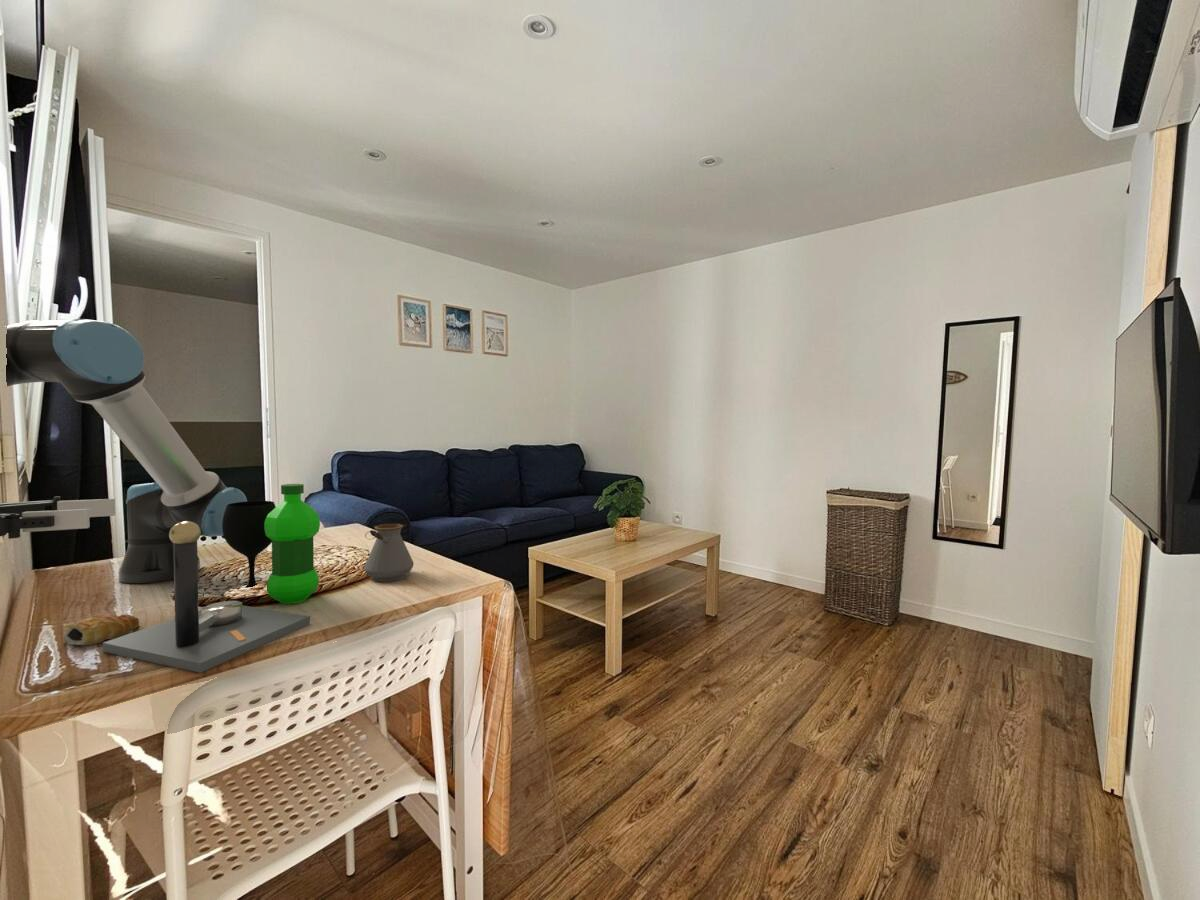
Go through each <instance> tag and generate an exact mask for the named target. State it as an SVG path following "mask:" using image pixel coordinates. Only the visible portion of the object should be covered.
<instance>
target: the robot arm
mask: <svg viewBox="0 0 1200 900" xmlns="http://www.w3.org/2000/svg"><path fill="white" fill-rule="evenodd" d="M6 348H7V354H6V358H7V365H6V382H7V387H10V386H15V385H22V384H30V383H59V384H61V385H62V387H63V388H65V389H64V390H66V391H67V393H68V394H69V395H70V396H71V397H72V398H73V399H74V400H75V401H76V402H78V403H83V404H88V405H91V406H92V407H93V408H94V409H95V411H96V412H97V413H98V414H99V415H100V417H101V418H102V419H103V420H104V422H106V424H107V425H108V426H109V427H110V428H111V429H112V431H113V432H114V434H115V435H116V436H117V437H118V438H119V439H120V441H121V442H122V443H123V444H124V445H125V447H126V448H127V449H128V450H129V452H131V454H132V456H134V458H135V459H136V460H137V461H138V463H139V464H140V465H141V466H142V467H143V469H145V471H146V472H147V473H148V475H149V476H150V477H151V478H152V479H153V480H154V482H151V483H150V482H147V483H140V484H133V485H131V486H130V487H129V488H128V489H127V493H126V499H125V504H126V521H127V549H126V551H125V554H124V557H123V558H122V559H123V560H122V562H121V564H120V567H119V570H118V580H119V582H121V583H126V584H147V583H157V582H164V581H169V580H174V547H173V542H172V541H171V540H170V537H169V532H170V530H171V528H172V527H173V526H174V525H176V524H177V523H180V522H184V521H190V522H193V523H195V524H197V525H198V526H199V527H200V530H201V535H200V537H201V536H202V537H209V538H210V537H211V538H213V537H224V535H223V531H222V521H223V516H224V512H225V509H226V506H227V505H228V504H231V503H237V502H246V501H248V499H247V497H246V495H245V493H244V492H243V491H242V490H240V489H238V488H235V487H233V486H232V487H231V486H230V487H229V486H226V485H225V484H224V482H223V480H222V479H221V478H220V477H219V475H218V474H217V473H215V472H213V471H207V470H205V469H204V468H203V465H201V463H200V462H199V460H198V459H197V458H196V456H195V455H194V454H193V452H192V451H191V450H190V448H189V447H188V445H186V443H185V441H184V440H183V439H182V438H181V436H180V434H179V433H178V432H177V431H176V430H175V428H174V427H173V425H172V424H171V423H170V421H169V420H168V419H167V417H166V416H165V415H164V413H163V412H162V410H161V409H160V407H159V406H158V405H157V404H156V403H155V400H153V398H152V396H151V395H150V394H149V393H148V391H147V390H146V388H145V387H144V386H143V384H144V383H145V379H146V374H145V372H144V371H143V369H144V366H145V362H143V359H145V353H144V351H143V347H142V346H141V343H139V342H138V339H137V338H135V336H134V335H132V334H131V333H130V332H129V331H127V330H126V329H124V328H123V327H121V326H119V325H117V324H114V323H112V322H108V321H104V320H94V319H90V318H89V319H88V318H76V319H75V318H74V319H65V320H64V319H62V320H61V319H59V320H58V319H57V320H40V319H39V320H36V319H35V320H27V321H22V322H19V323H14V324H10V325H7V334H6ZM114 516H116V498H104V499H103V498H99V499H80V500H79V499H75V500H74V499H73V500H72V499H71V500H61V496H57V495H56V496H53V499H47V500H36V501H35V500H33V501H30V500H29V501H17V502H15V501H14V502H2V503H1V502H0V537H4V536H7V534H8V540H11V539H19V538H21V530H22V533H29V532H31V533H33V532H47V531H67V530H79V529H80V530H82V529H90V524H91V523H90V518H97V517H98V518H99V517H114ZM200 570H201V559H200V557H199V556H198V572H199V571H200Z"/></svg>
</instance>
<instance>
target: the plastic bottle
mask: <svg viewBox="0 0 1200 900" xmlns="http://www.w3.org/2000/svg"><path fill="white" fill-rule="evenodd" d="M304 486H305V485H304V483H287V484H286V483H285V484H281V485H280V492H281V493H280V494H281V495H283V501H282V502H281V503H279V504H278V505H277V506H276V508H275V509H273V510H272V511H271V512H270V513H269V514H268V515H267V517H266V520H265V523H264V530H265V534H266V536H267V537H268V538H269V539H271V540H272V543H271V573H270V575H269V577H268V579H267V582H266V583H267V591H268V593H269V594H268V595H269V597H271V598H272V599H273V600H274V601H275V600H276V601H277V602H279V604H281V605H282V604H283V605H292V604H298V603H303V602H304V601H306V600H308V598H310V596H311V595H312V594H314V593H315V592H316V590H317V589H318V586H319V582H320V581H319V580H320V578H319V574H318V573H317V570H316V569H315V567H314V566H315V565H314V564H315V563H314V560H315V558H314V556H315V555H314V553H315V552H314V537H315V536H316V535H317V533H319V531H320V526H321V518H320V516H319V514H318V513H319V512H318V511H317V510H316V509H314V508H313V507H311V505H309V504H307V503H306V502H305V501H303V500H302V494H304V493H305V492H304V489H305V488H304Z"/></svg>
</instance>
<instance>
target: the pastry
mask: <svg viewBox="0 0 1200 900" xmlns="http://www.w3.org/2000/svg"><path fill="white" fill-rule="evenodd" d="M139 626H140V621H139V617H136V616H135V615H131V614H121V615H117V614H112V615H111V614H110V615H104V616H102V615H101V616H100V615H97V616H94V617H91V618H89V619H83V620H80V621H78V622H76V623H72V624H69V625H68V628H67V629H66V631H65V632H64V635H63V641H65V642H66V644H67V645H72V646H93V645H94V646H95V645H97V644H100V643H103V642H105V641H106V640H112V639H115V638H118V637H121V636H124V635H127V634H129V633H130V632H132V631H134V630H136V628H138V627H139Z"/></svg>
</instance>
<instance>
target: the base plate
mask: <svg viewBox="0 0 1200 900" xmlns="http://www.w3.org/2000/svg"><path fill="white" fill-rule="evenodd" d="M201 610H202V609H200V610H199V617H200V616H202V611H201ZM308 625H311V615H305V614H300V613H299V614H298V613H292V612H288V611H286V612H285V611H281V610H274V609H267V608H262V607H261V608H260V607H257V606H248V605H243V604H242V618H240V619H239V620H237V621H234V622H231V623H227V624H223V625H215V626H209V627H207V628H206V629H204V630H203V631H201V632H200V633H199V641H198V642H197V643H195V644H192V645H189V646H182V647H179V646H176V641H175V618H173V619H170V620H168V621H165V622H160V623H158V624H155V625H152V626H149V627H145V628H143V629H141V630H137V631H134V632H131V633H130V632H129V633H126V634H124V635H121V636H118V637H117V638H114V639H108V640H107V641H106V640H105V641H103V642H102V652H103V653H108V654H112V655H117V656H121V657H124V658H130V659H135V660H140V661H144V662H145V661H146V662H148V663H152V664H158V665H161V666H163V665H164V666H166V667H172V668H177V669H181V670H186V671H191V672H194V673H203V672H205V671H208V670H210V669H212V668H215V667H217V666H219V665H221V664H224V663H225V662H229V661H230V660H233V659H234V658H237V657H239V656H241V655H243V654H247V653H248V652H251V651H252V650H255V649H257V648H259V647H262V646H264V645H266V644H269V643H270V642H272V641H275V640H277V639H280V638H281V637H283V636H286V635H288V634H291V633H293V632H295V631H297V630H299V629H302V628H304V627H306V626H308Z"/></svg>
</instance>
